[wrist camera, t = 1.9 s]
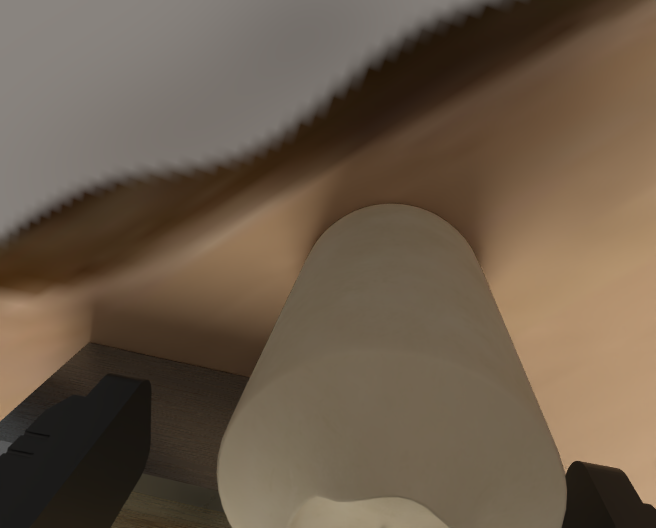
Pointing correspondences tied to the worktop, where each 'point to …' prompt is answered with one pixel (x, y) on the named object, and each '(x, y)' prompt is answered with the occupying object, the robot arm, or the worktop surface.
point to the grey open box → (154, 432)
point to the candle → (390, 394)
